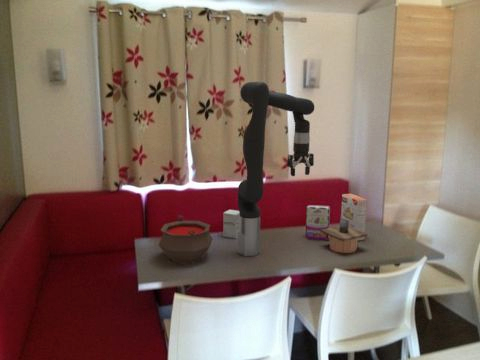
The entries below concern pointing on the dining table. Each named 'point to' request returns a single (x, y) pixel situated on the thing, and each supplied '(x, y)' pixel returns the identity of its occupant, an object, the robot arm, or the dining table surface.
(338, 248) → the terracotta bowl
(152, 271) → the dining table surface
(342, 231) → the walnut lid
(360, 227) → the cracker box
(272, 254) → the dining table surface
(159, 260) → the dining table surface
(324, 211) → the candy bar box
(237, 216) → the supplement box
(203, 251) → the brown cooking pot
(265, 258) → the dining table surface
